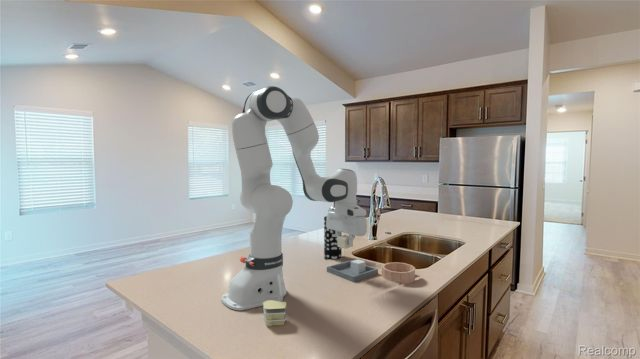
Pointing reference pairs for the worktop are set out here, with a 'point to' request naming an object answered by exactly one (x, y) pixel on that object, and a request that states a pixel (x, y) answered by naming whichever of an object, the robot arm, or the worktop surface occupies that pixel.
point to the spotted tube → (331, 244)
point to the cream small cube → (343, 241)
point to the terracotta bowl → (398, 272)
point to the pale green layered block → (274, 312)
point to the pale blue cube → (358, 266)
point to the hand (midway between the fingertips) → (344, 243)
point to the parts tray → (346, 273)
